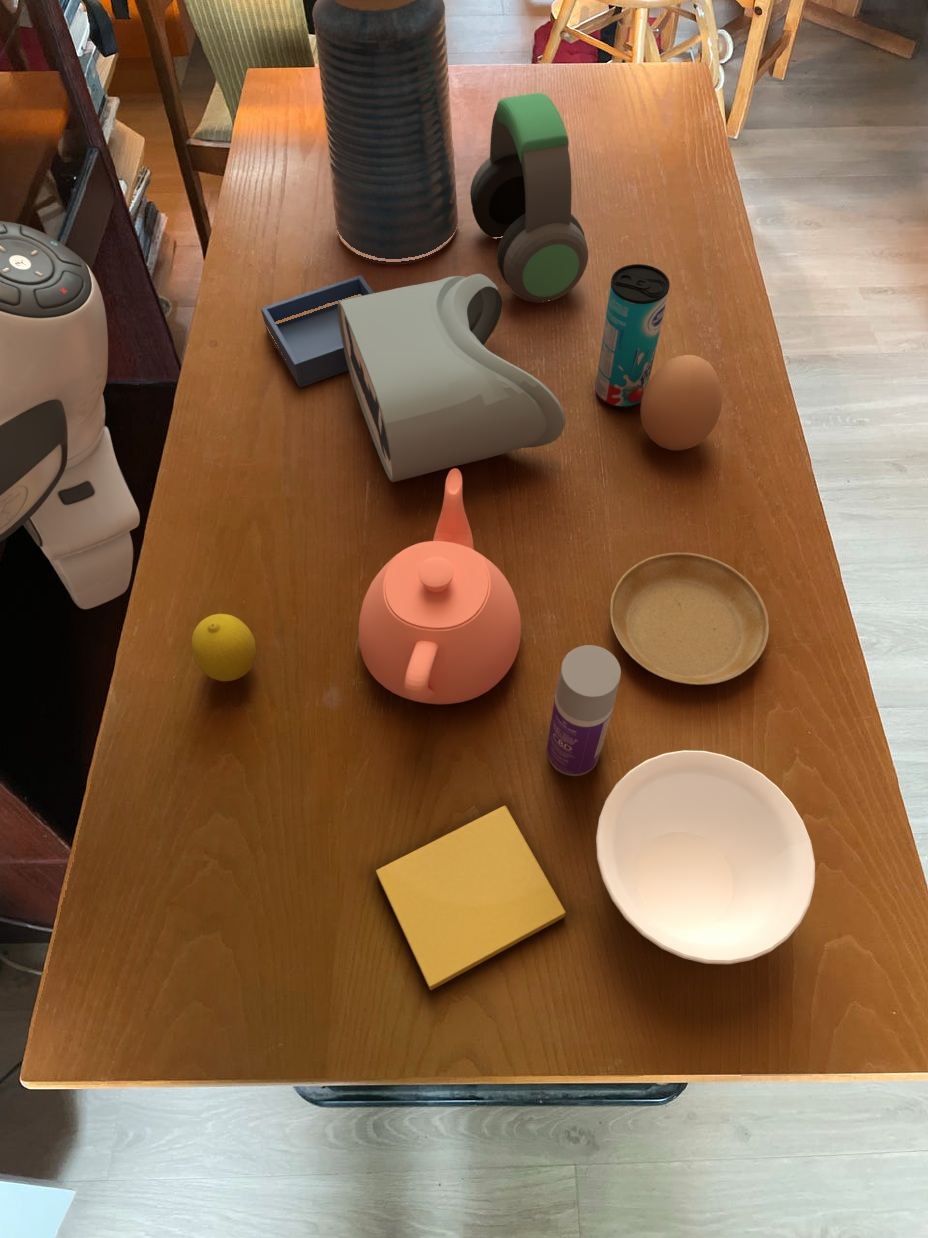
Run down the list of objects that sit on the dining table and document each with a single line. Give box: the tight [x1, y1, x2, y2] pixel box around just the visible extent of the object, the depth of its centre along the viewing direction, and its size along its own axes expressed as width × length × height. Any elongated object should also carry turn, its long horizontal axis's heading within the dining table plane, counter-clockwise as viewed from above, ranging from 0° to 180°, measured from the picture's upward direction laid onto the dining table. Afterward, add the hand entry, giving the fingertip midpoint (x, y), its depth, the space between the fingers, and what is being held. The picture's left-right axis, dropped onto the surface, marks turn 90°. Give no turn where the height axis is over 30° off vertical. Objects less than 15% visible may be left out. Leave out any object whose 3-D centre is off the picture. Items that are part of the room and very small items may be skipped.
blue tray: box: [260, 274, 375, 388], centre depth 106 cm, size 13×11×4 cm
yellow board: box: [375, 805, 566, 991], centre depth 71 cm, size 12×10×2 cm
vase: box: [312, 0, 459, 265], centre depth 105 cm, size 16×16×32 cm
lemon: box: [191, 613, 257, 682], centre depth 80 cm, size 6×6×8 cm
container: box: [546, 644, 622, 777], centre depth 72 cm, size 5×5×15 cm
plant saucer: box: [609, 552, 770, 686], centre depth 83 cm, size 15×15×3 cm
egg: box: [640, 354, 723, 451], centre depth 93 cm, size 8×8×11 cm
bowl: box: [595, 750, 816, 965], centre depth 68 cm, size 16×16×8 cm
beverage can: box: [594, 263, 671, 410], centre depth 95 cm, size 6×6×15 cm
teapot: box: [357, 467, 522, 705], centre depth 79 cm, size 22×15×12 cm
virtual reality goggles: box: [337, 273, 566, 483], centre depth 95 cm, size 22×19×13 cm
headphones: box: [469, 92, 589, 303], centre depth 106 cm, size 19×11×20 cm, turn 15°
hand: (39, 524), depth 70 cm, fingers open, 8 cm apart
